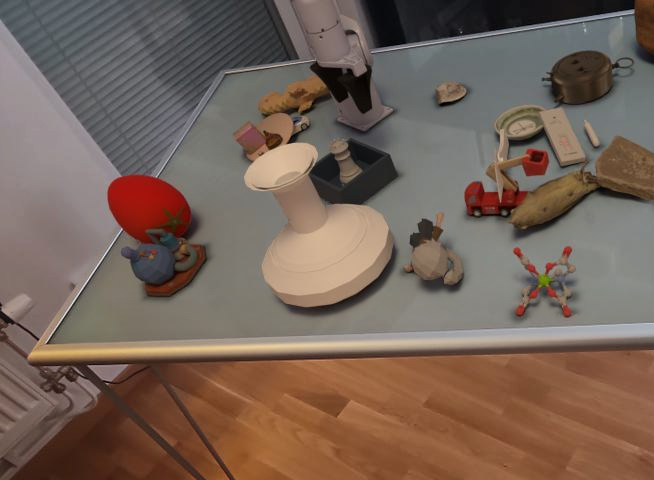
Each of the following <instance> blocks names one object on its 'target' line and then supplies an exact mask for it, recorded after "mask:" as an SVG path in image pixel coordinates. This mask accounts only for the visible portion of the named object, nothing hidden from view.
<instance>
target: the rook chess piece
mask: <svg viewBox="0 0 654 480" xmlns="http://www.w3.org/2000/svg"><path fill="white" fill-rule="evenodd" d="M347 148H348V143H347V142H346V141H345V139H344V138H341V137H338V138H337V139H335V138H334V139H333V140H332V141H330V142H329V153H330V152H331V153H333V154H335V159H336V160H337V162H338V164H339V167H340V181H341V182H342V186H344V185H345V184H346V183H348V182H349V181H350V180H352V179H353V178H354V177H356V176H357V175H359V174H360V173H361V172H363V171H362V169H361V168H360V167H358V166H357V165H356V164H355V163H354V161H353V160H352V158H351V156H350V151H348V150H347Z"/></svg>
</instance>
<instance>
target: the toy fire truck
mask: <svg viewBox="0 0 654 480" xmlns="http://www.w3.org/2000/svg"><path fill="white" fill-rule="evenodd" d="M549 164H550V159H549V154H548V151H547V150H542V149H536V148H535V149H534V148H530V147H529V148H527V149H526V152H525V154H523V155H519V156H516V157H512V158H509V159H507V160H505V161H501V162H498V163H497V165H498V167H499V170H500V171H501V172H500V174H501V177H502V179H503V182H504V184H503V191H502V198H501V203H500V198H499V192H498V191H485V187H484V185H483V181H482V180H476V181H472V182H470V184H468V185H467V187H466V188H465V190H464V197H463V198H464V203H465V205H466V206H465V207H466V210H467V213H468V214H469V215H473V216H474V217H478V218H480V217H481V216H482V214H483V215H500V216H503V217H508V216H509V214H510V213H511V210H513V209H515V208H516V207H517V206H518V205H520V204H521V203H522V201H523V200H524V198H525V196H526V195H527V192H528V191H529V190H520V186H519V182H518V181H517V180H514V179H513V178H512V177H511V176H510V175H509V174H508V173H507V172H506V170H508V169H512V168H516V167H519V166H522V168H523V172H524V173H525V176H526V177H536V176H545V175H546V173H547V170H548V167H549ZM504 170H505V171H504ZM485 175H486V176H487V177H489V178H490V179H491V180H492V181H494V182H495V183H496V184H497V179H496V170H495V161H492V163H491V164H490V165H489V166H488V167H487V168H486V170H485Z"/></svg>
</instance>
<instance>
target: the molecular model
mask: <svg viewBox="0 0 654 480" xmlns="http://www.w3.org/2000/svg"><path fill="white" fill-rule="evenodd" d="M512 252H513V254H514V255H515V256H516V257H517V258H518V259H519V261H520V264H521V265H522V266H523V268H524V270H525V271H528V272H529V273H530V275H531V277H532V279H531V282H530V283H529V285H528V286H527V287H523V288H522V289H521V291H520V292H521V294H522V296H523V297H522V298H521V301H520V303H519V305H518V307H517V308H516V310H515V314H516V315H518V316H522V315H523V314H524V311H525V310H526V307H527V305H528V304H530V302H531V299H537V298H538V296H539V292H540V290H541V289H542V287H545V288H546V290H547V291H548V293H547V295H548V296H549V298H554V299H556V300H557V303H558V304H559V305H560V306H561V308H562V310H563V315H564V316H565V317H570V316H571V314H572V311H571V309H570V308H569V307H568V305H567V303H568V301H567V298H570V297H571V296H572V289H570V288H567V285H566V282H565V280H566V279H565V278H566V277H567V276H568V275H569V274H574V273H575V272H576V270H577V268H576V267H577V266H576V265H575V264H570V263H568V260H569V258H570V256H571V253H572V252H573V248H572V246H570V245H566V246H565V247H564V249H563V251H562V253H561V256H560V258H559V259H558V260H557V261H555V262H553V263H552V262H546V264H545V267H544V268H545V271H544V274H541V273H539V272H538V271H537V270H536V266H535V265H534V264H532V262H530V259H529V257H527V256H526V255H524V254H523V253H522V250H521V248H520V247H514V248H513V250H512ZM559 265H560V266H565V267H566V269H567V270H566V271H565V272H564V273H563V270H562V269H561V268H556V269H555V270H554V272H553V274H551V275H550V276H548V275H549V273H550V271H552V270H553V268H555V267H557V266H559ZM551 282H558V283H560V284H561V286H562V288H563V292H562V295H563V296H559V295H558V294H557V293H556V290H554V289H552V287H551V286H550V285H549V284H550V283H551ZM535 284H536V285H537V284H538V285H537V287H536V289H535V290H532V291H531V292H530V290H531V289H532V288H533V286H534V285H535Z"/></svg>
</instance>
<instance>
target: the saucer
mask: <svg viewBox="0 0 654 480" xmlns="http://www.w3.org/2000/svg"><path fill="white" fill-rule="evenodd" d="M546 110H547V109H546V108H545V107H543V106H540V105H538V104H537V105H536V104H523V105H518V106H515V107H512V108H509V109H507V110H506V111H504V112H502V113H501V114H499V116H498V117H497V118H496V119H495V121H494V123H493V130H494V132H495V133H496V134H497V135H498V136H500V130H501V129H505V132H506V134H507V138H508V140H510V141H511V140H512V141H525V140H528V139H530V138H533V136H536V135H537V134H538V133H539V132H541V131H542V130H543V129H544V127H543V125H542V123H541V120H540V118H539V112H541V111H546Z"/></svg>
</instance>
